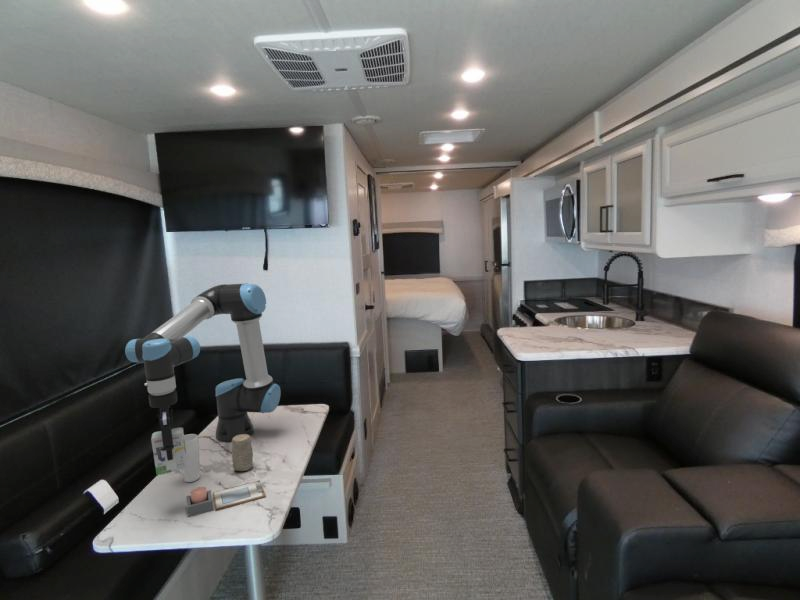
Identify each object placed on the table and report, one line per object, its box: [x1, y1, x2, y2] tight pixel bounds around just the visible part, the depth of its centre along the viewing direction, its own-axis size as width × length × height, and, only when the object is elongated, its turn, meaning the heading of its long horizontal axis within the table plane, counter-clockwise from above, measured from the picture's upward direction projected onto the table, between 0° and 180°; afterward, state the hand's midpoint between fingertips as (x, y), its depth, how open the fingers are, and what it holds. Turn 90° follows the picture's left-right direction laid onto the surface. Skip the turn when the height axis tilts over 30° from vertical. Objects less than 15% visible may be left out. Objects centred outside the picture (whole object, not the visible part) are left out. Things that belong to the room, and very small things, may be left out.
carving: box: [230, 434, 254, 472], centre depth 167 cm, size 6×8×12 cm
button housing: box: [186, 490, 214, 518], centre depth 144 cm, size 7×7×3 cm
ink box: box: [150, 426, 187, 476], centre depth 142 cm, size 9×5×12 cm, turn 113°
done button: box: [190, 486, 207, 505], centre depth 144 cm, size 4×4×4 cm
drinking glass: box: [181, 433, 201, 483], centre depth 161 cm, size 7×7×15 cm
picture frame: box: [211, 479, 267, 512], centre depth 150 cm, size 11×15×1 cm
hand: (171, 464), depth 143 cm, fingers closed on ink box, 5 cm apart
